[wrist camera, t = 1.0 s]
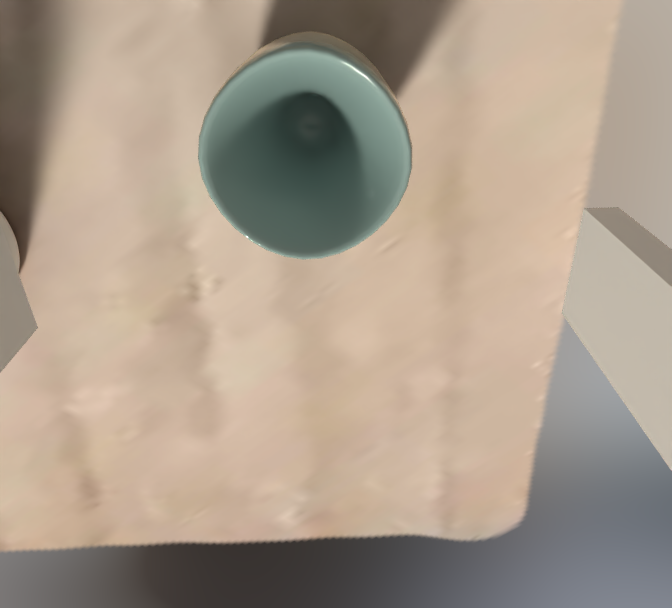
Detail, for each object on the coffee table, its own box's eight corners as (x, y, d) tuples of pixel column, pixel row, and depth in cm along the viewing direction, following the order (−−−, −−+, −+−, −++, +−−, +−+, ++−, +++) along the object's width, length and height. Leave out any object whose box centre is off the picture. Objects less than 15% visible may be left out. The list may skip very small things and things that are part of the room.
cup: (315, -14, 26) (309, -10, 17) (417, 113, 29) (455, 171, 20) (205, 102, 28) (152, 157, 20) (309, 208, 31) (302, 295, 23)
